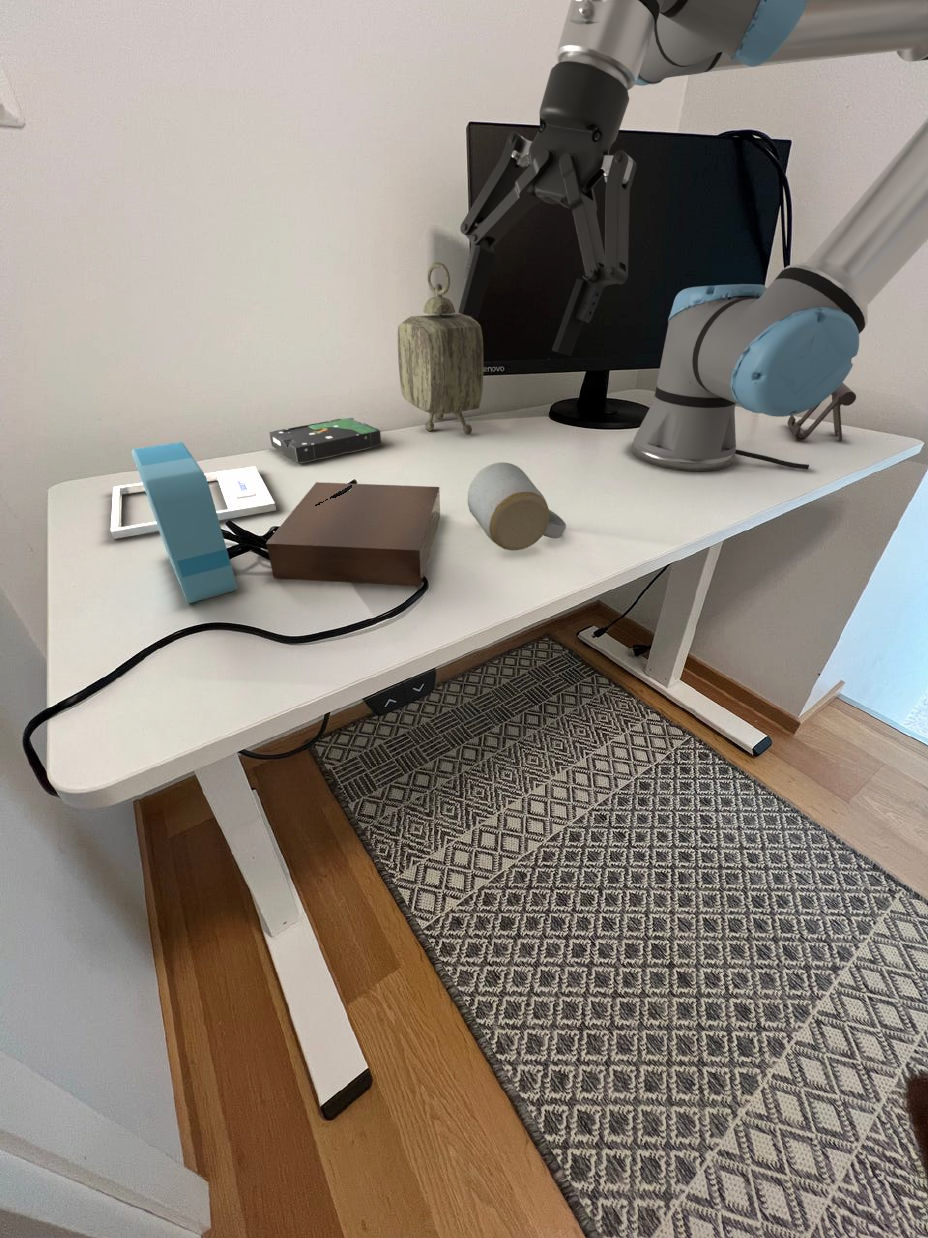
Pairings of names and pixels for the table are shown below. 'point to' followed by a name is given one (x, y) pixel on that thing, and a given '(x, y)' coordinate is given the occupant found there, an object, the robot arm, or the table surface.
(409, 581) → the walnut riser
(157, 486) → the blue rounded block
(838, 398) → the tablet stand
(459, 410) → the tabletop clock
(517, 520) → the ceramic mug
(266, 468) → the table surface
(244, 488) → the photo frame
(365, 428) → the disk drive
